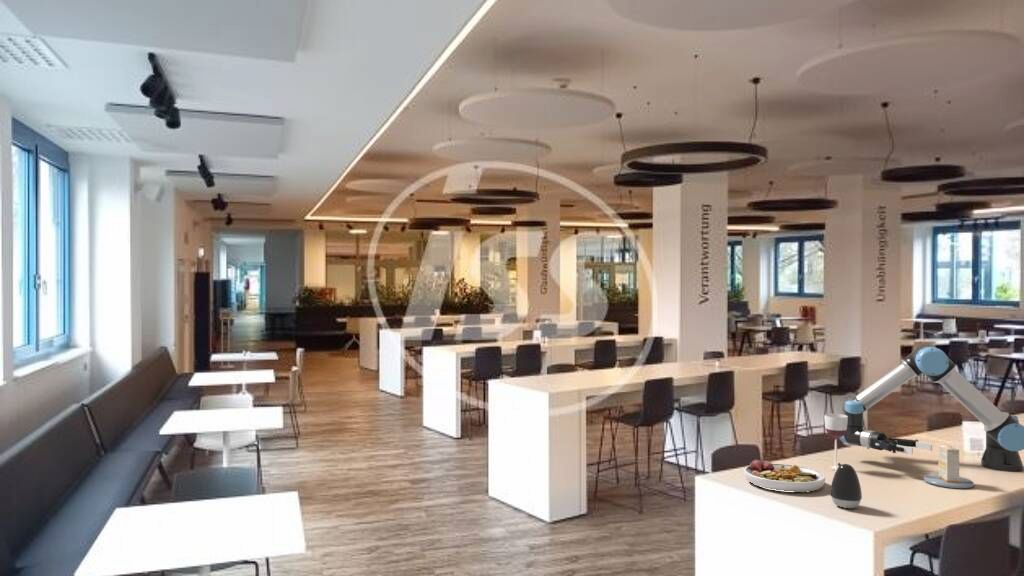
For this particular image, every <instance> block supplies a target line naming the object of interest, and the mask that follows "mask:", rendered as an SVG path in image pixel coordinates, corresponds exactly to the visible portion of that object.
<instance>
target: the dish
mask: <svg viewBox="0 0 1024 576" xmlns="http://www.w3.org/2000/svg"><path fill="white" fill-rule="evenodd" d="M923 480H924V482H925V483H928V484H931V485H934V486H938V487H943V488H944V487H945V488H950V489H951V488H952V489H971V488H973V487H974V486H975V484H974V482H973V480H971V479H967V478H964V477H960V476H959V483H958V482H946V481H945V480H943V479H941V478H939V474H927V475H924V476H923Z"/></svg>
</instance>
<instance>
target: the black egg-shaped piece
mask: <svg viewBox="0 0 1024 576" xmlns="http://www.w3.org/2000/svg"><path fill="white" fill-rule="evenodd" d="M837 467H838V468H837V470H836V471H834V475H833V477H832V481H831V484H830V485H831V486H830V490H829V491H830V492H829V493H830V494H829V495H830V496H831V500H832V502H833V504H834V505H835V506H837V507H838V506H840V507H839V508H841V507H845V508H853V509H855V507H856V508H857V507H858V506H859V505H860V504H861V501H862V499H863V494H862V487H861V483H860V480H859V476H858V473H857V472H856V470H855V468H854V467H853V466H852V465H851V464H848V463H843V464H842V463H841V462H837ZM845 508H844V509H845Z"/></svg>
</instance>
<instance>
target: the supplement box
mask: <svg viewBox="0 0 1024 576" xmlns="http://www.w3.org/2000/svg"><path fill="white" fill-rule="evenodd" d="M938 475H939V478H941V479H943V480H945V481H946V482H958V483H959V477H960V450H959V449H958V448H956V447H955V446H952V445H944V444H943V445H942V444H941V445H938Z"/></svg>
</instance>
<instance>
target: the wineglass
mask: <svg viewBox="0 0 1024 576" xmlns="http://www.w3.org/2000/svg"><path fill="white" fill-rule="evenodd" d="M823 419H824V427H825V428H824V429H825V431H826V433H827V434H828V435H829V436H830V437H832V438H833V439H834V466H831V467H832V468H835V469H836V468H838V467H839V466H838V439H840V437H842V436H843V435H844V434H845V433H846V430H847V422H848V416H846V415H844V414H843V413H841V414H840V413H825V414H824V417H823Z"/></svg>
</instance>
